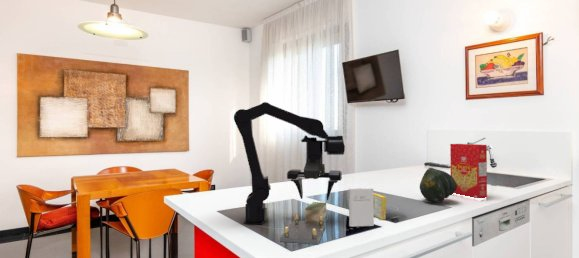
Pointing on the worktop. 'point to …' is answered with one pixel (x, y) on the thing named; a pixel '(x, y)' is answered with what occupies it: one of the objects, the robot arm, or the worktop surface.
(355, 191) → the external hard drive
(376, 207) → the candy box
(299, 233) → the plate
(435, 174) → the squash
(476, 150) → the food packaging
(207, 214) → the worktop surface
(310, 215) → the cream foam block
